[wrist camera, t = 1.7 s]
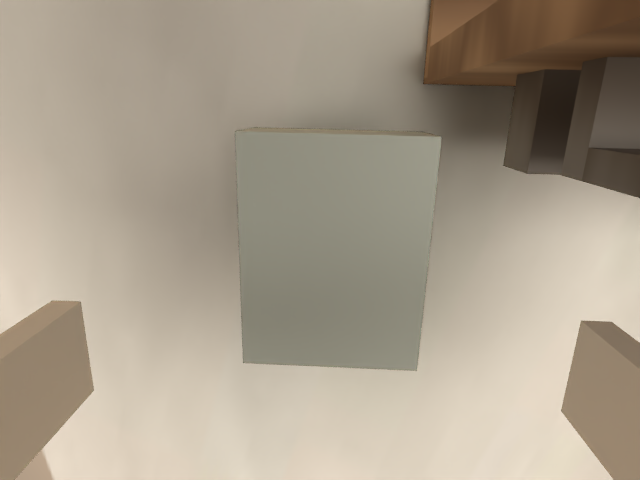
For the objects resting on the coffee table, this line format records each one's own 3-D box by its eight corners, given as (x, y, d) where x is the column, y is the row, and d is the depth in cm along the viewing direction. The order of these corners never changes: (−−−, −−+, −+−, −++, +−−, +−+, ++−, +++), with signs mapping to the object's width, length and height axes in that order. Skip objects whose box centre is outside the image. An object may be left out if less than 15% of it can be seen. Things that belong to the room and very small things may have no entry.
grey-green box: (277, 122, 21) (234, 131, 12) (398, 125, 21) (441, 136, 12) (278, 285, 23) (244, 387, 15) (386, 290, 23) (414, 395, 15)
